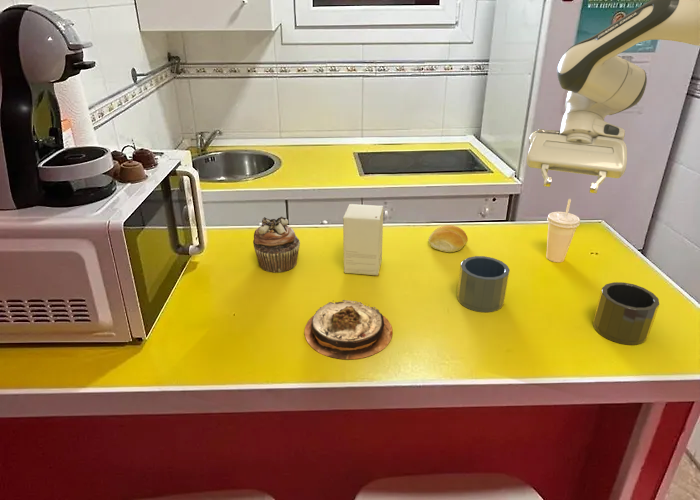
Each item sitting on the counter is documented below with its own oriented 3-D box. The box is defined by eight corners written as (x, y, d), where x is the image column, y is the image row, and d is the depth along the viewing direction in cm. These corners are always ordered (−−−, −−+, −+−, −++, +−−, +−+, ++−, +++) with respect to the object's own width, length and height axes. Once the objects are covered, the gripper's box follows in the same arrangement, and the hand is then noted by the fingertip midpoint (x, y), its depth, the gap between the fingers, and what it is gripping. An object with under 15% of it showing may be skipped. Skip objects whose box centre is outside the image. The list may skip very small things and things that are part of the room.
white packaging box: (382, 259, 112) (384, 205, 106) (378, 276, 105) (380, 219, 99) (348, 256, 113) (349, 202, 107) (342, 273, 106) (342, 216, 100)
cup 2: (645, 322, 92) (656, 288, 89) (649, 350, 85) (661, 315, 82) (592, 311, 95) (601, 278, 92) (592, 337, 88) (602, 303, 85)
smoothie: (549, 266, 109) (562, 205, 103) (534, 252, 115) (545, 193, 108) (576, 263, 111) (591, 202, 104) (560, 250, 116) (573, 191, 110)
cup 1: (506, 293, 100) (512, 261, 97) (500, 316, 93) (505, 283, 90) (462, 283, 103) (466, 252, 100) (452, 306, 96) (456, 273, 93)
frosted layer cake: (369, 370, 80) (370, 348, 78) (287, 342, 86) (286, 322, 84) (404, 320, 92) (406, 300, 90) (330, 299, 98) (330, 280, 96)
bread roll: (470, 240, 120) (472, 224, 118) (458, 256, 113) (460, 239, 111) (436, 232, 124) (437, 217, 122) (423, 247, 117) (424, 231, 115)
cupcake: (257, 277, 105) (253, 232, 100) (253, 255, 113) (249, 212, 108) (304, 272, 107) (302, 228, 102) (297, 250, 115) (295, 209, 110)
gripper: (532, 120, 117) (520, 175, 113) (633, 130, 110) (623, 189, 106) (531, 135, 122) (519, 188, 119) (627, 145, 115) (617, 201, 112)
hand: (569, 188), depth 113 cm, fingers open, 8 cm apart
